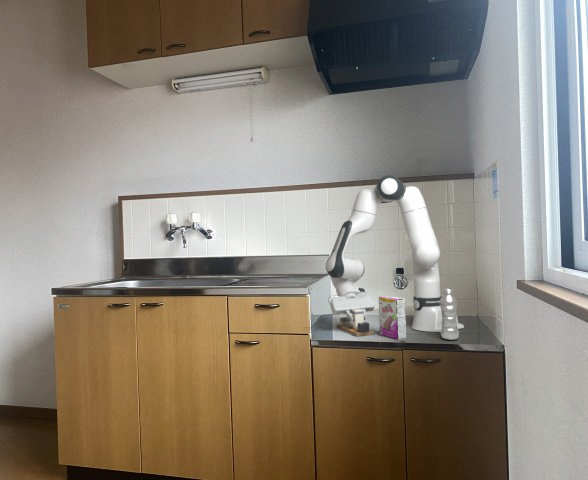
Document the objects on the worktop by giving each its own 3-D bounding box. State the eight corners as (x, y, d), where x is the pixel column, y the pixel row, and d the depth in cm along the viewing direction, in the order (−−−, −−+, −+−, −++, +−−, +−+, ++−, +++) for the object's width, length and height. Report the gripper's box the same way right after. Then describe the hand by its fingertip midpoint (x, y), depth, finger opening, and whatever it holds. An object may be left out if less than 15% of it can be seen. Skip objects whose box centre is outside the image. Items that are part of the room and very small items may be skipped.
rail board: (352, 325, 196) (351, 316, 196) (373, 334, 177) (373, 324, 177) (336, 327, 193) (336, 318, 193) (356, 336, 174) (356, 326, 174)
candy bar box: (379, 335, 176) (377, 296, 175) (388, 333, 178) (386, 295, 178) (398, 340, 166) (396, 299, 166) (407, 338, 168) (405, 298, 168)
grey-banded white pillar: (360, 327, 183) (360, 308, 183) (364, 328, 180) (363, 310, 180) (352, 328, 182) (351, 309, 182) (355, 329, 179) (355, 310, 179)
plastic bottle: (460, 341, 160) (458, 289, 160) (442, 341, 162) (440, 289, 162) (457, 337, 167) (455, 287, 167) (439, 337, 168) (438, 287, 168)
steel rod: (348, 323, 195) (348, 315, 195) (369, 331, 176) (369, 323, 176) (340, 324, 193) (340, 316, 193) (360, 332, 175) (360, 324, 175)
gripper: (328, 292, 184) (339, 317, 175) (369, 288, 191) (381, 313, 182) (325, 300, 189) (334, 326, 179) (365, 297, 195) (376, 321, 186)
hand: (358, 319), depth 181 cm, fingers closed on grey-banded white pillar, 4 cm apart
